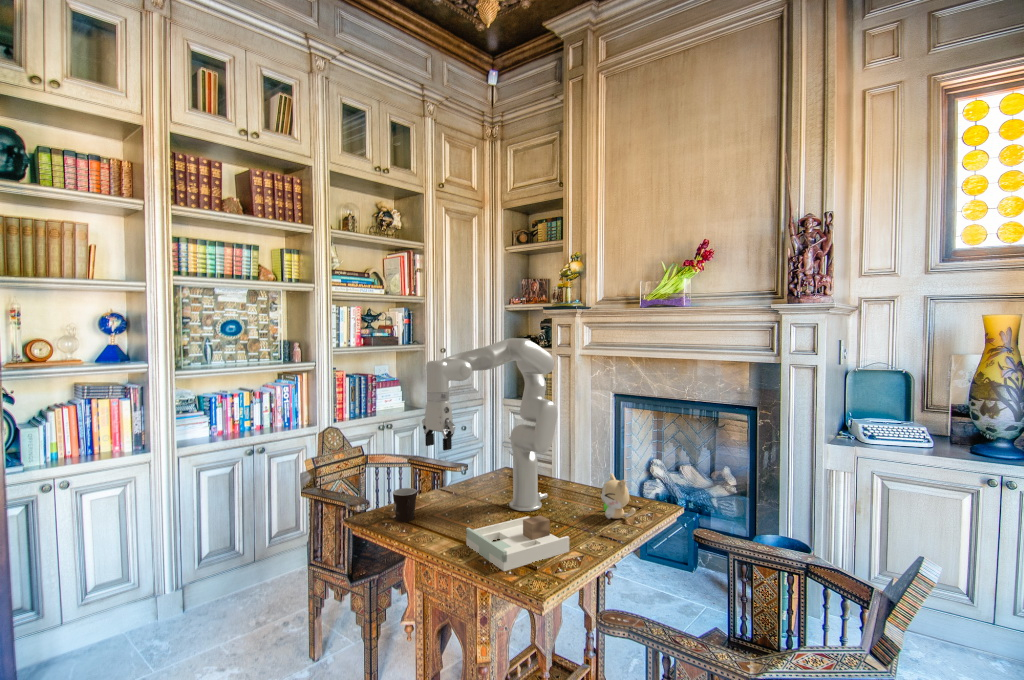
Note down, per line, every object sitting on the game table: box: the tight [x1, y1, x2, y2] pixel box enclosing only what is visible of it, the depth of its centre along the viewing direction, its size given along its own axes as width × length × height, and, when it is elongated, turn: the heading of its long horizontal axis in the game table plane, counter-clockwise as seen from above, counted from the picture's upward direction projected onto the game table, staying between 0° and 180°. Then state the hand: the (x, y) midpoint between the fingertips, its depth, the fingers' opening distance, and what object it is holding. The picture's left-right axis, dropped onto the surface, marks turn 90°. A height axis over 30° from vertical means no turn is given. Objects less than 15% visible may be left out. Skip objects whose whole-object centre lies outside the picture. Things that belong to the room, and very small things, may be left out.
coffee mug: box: [392, 487, 418, 523], centre depth 189 cm, size 12×9×10 cm
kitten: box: [600, 472, 636, 520], centre depth 192 cm, size 15×10×15 cm
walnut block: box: [523, 515, 551, 540], centre depth 168 cm, size 7×5×5 cm
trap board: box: [465, 515, 570, 572], centre depth 164 cm, size 24×22×6 cm
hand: (438, 447), depth 178 cm, fingers open, 9 cm apart
